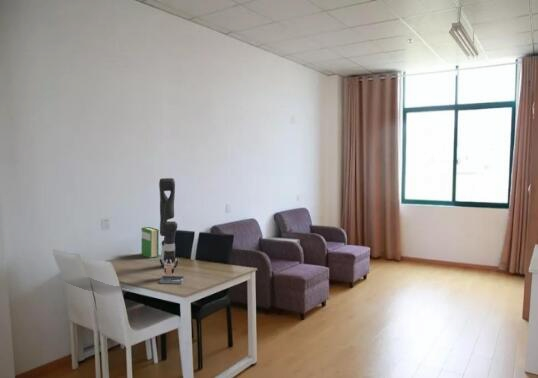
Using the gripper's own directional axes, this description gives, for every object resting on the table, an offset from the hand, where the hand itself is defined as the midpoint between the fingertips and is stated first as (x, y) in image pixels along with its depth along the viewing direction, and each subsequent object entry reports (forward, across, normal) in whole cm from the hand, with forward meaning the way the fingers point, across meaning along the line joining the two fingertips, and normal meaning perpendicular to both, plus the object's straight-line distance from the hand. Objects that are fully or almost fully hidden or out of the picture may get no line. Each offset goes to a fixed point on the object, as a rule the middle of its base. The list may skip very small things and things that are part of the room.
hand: (169, 273), depth 279 cm
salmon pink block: (+1, 0, 0) cm, 1 cm away
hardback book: (+5, +33, -65) cm, 73 cm away
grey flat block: (+3, -4, +10) cm, 12 cm away
